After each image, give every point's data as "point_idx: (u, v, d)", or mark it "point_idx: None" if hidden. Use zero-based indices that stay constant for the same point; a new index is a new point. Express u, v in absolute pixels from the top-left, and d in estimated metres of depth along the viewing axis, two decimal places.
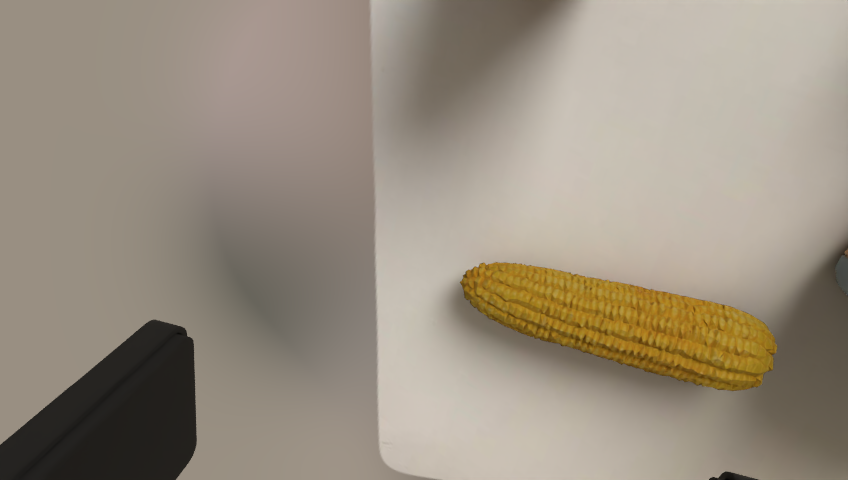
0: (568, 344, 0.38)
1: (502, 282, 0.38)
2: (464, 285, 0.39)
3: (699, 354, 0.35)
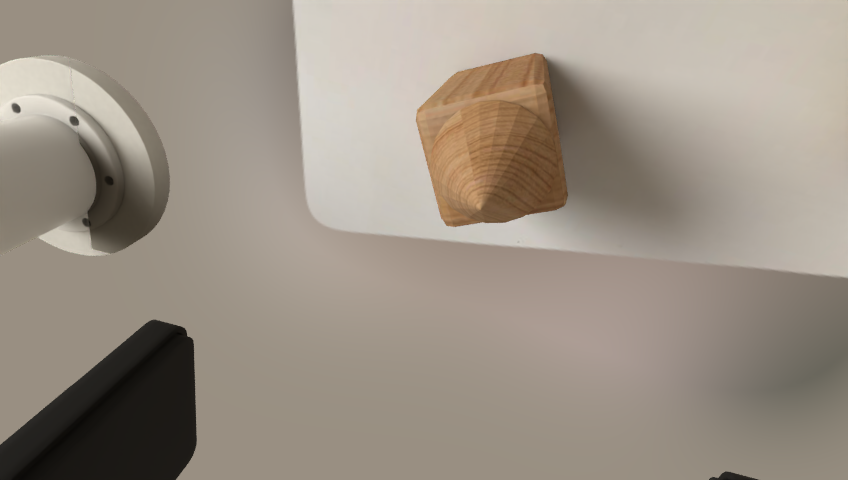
0: None
1: None
2: None
3: None
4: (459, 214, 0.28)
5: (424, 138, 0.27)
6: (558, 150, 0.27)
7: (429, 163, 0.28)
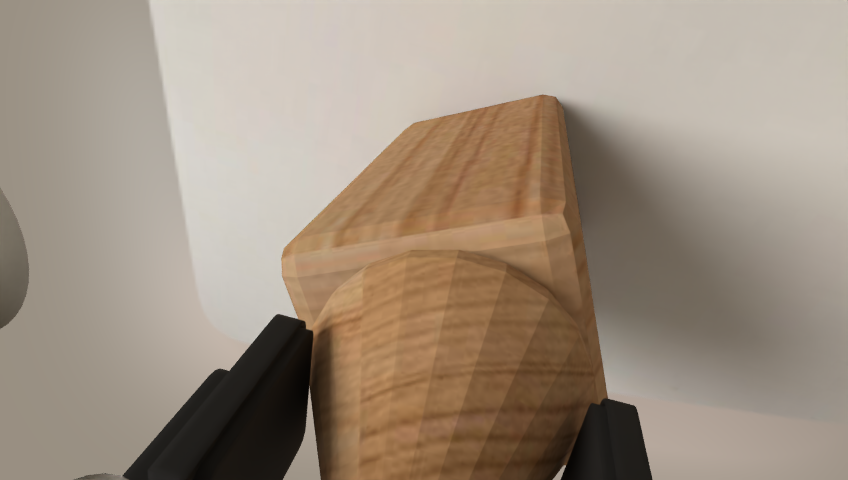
0: None
1: None
2: None
3: None
4: None
5: (299, 310, 0.12)
6: (595, 350, 0.12)
7: None
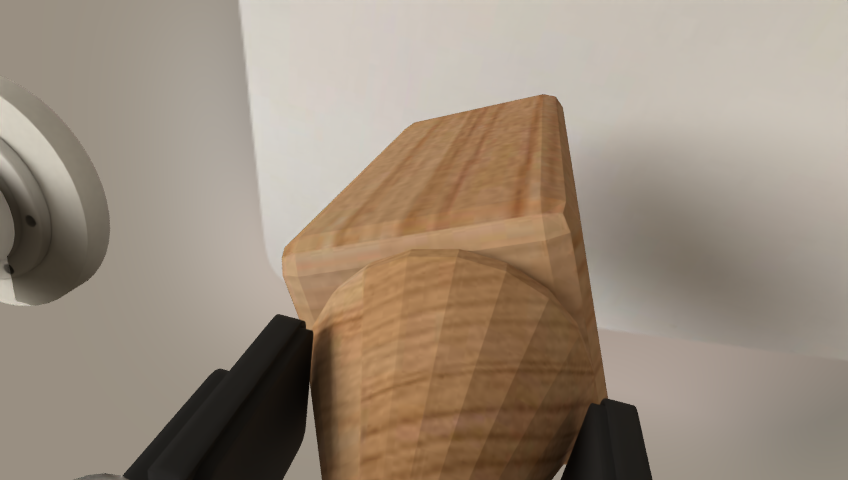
0: None
1: None
2: None
3: None
4: None
5: (299, 309, 0.12)
6: (595, 349, 0.12)
7: None
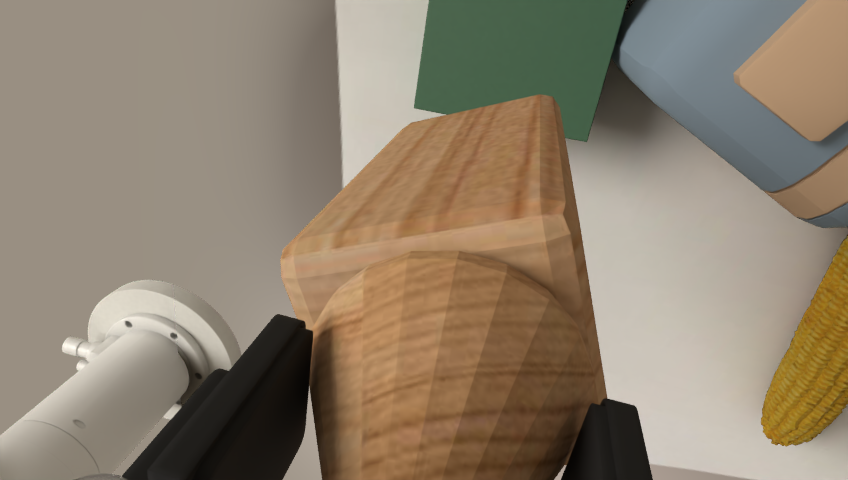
0: None
1: (778, 424, 0.45)
2: (779, 443, 0.47)
3: None
4: None
5: (298, 312, 0.12)
6: (595, 350, 0.12)
7: None
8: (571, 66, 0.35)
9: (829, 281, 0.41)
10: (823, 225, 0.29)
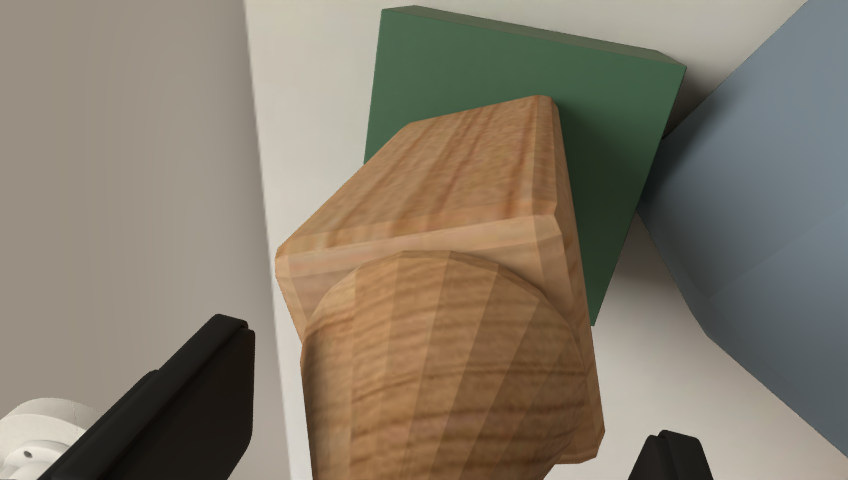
0: None
1: None
2: None
3: None
4: None
5: (292, 310, 0.12)
6: (587, 350, 0.12)
7: None
8: None
9: None
10: None
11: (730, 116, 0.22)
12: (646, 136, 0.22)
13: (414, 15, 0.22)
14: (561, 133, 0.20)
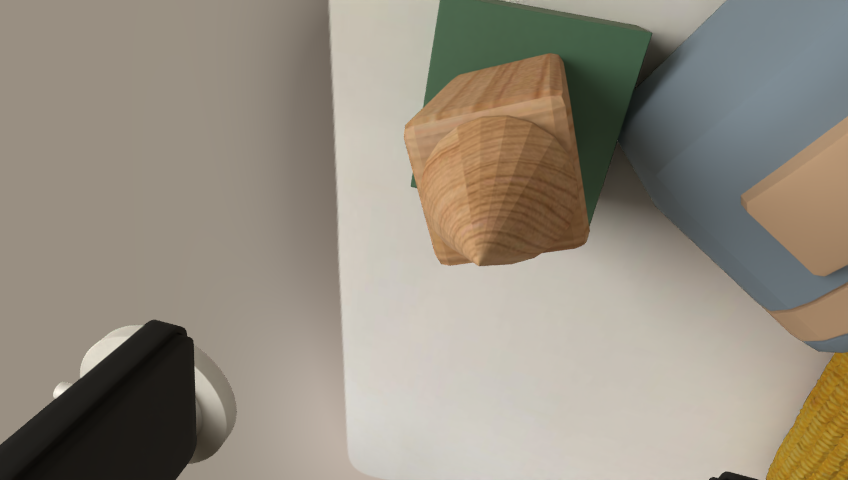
0: None
1: None
2: None
3: None
4: (456, 251, 0.23)
5: (414, 159, 0.22)
6: (579, 177, 0.21)
7: (420, 190, 0.23)
8: None
9: (837, 364, 0.40)
10: (819, 349, 0.28)
11: (682, 65, 0.32)
12: (625, 83, 0.32)
13: None
14: None
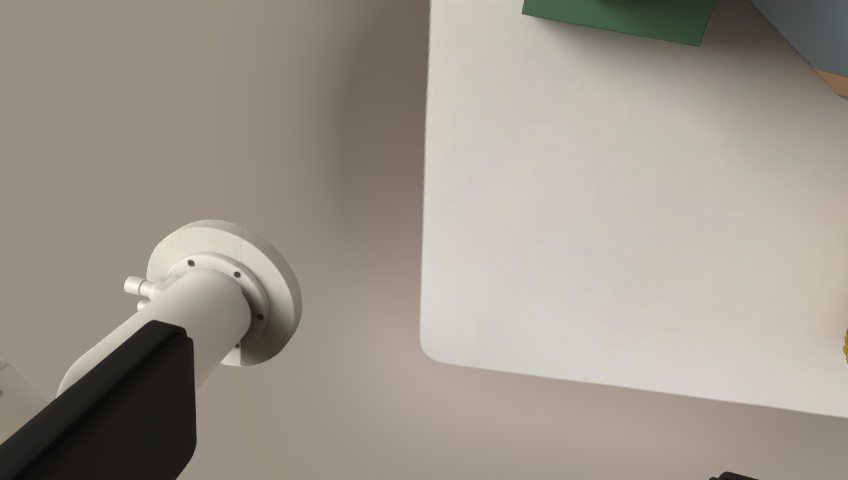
0: None
1: None
2: None
3: None
4: None
5: None
6: None
7: None
8: None
9: None
10: None
11: None
12: None
13: None
14: None
